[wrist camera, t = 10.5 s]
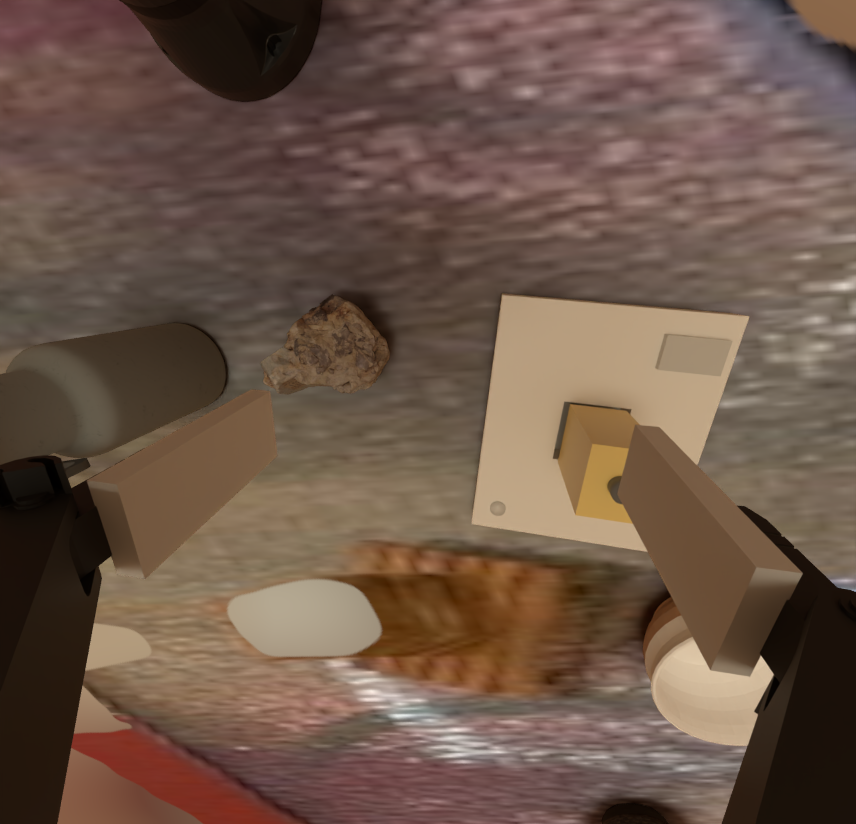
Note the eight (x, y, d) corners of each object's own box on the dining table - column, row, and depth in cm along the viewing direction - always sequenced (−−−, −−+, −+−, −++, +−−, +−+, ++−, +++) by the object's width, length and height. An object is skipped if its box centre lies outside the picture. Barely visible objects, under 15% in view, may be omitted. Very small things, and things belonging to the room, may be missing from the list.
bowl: (682, 692, 50) (715, 765, 43) (599, 614, 48) (618, 676, 41) (811, 635, 44) (874, 708, 37) (722, 544, 42) (770, 601, 35)
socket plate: (501, 293, 37) (502, 295, 34) (729, 312, 35) (754, 317, 32) (473, 508, 46) (471, 527, 42) (654, 536, 43) (668, 559, 40)
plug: (564, 394, 39) (596, 450, 27) (617, 400, 39) (674, 461, 26) (553, 449, 41) (578, 524, 29) (603, 455, 41) (650, 535, 28)
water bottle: (242, 402, 46) (-88, 573, 20) (173, 414, 48) (-208, 583, 22) (210, 313, 43) (-230, 379, 17) (137, 331, 45) (-354, 413, 19)
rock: (401, 364, 44) (408, 317, 35) (337, 446, 41) (325, 418, 31) (336, 320, 45) (325, 262, 35) (266, 397, 41) (234, 355, 32)
